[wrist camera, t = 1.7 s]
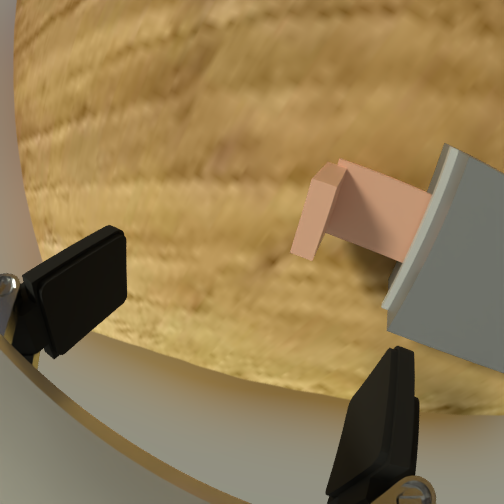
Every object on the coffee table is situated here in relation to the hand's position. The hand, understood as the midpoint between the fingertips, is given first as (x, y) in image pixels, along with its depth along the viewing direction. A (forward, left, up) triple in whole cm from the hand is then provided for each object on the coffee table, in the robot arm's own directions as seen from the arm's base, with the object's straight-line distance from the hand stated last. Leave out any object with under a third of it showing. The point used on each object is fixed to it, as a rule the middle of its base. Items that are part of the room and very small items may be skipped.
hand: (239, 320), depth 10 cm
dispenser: (-16, 0, -21) cm, 26 cm away
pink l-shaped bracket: (-8, 0, -17) cm, 19 cm away
